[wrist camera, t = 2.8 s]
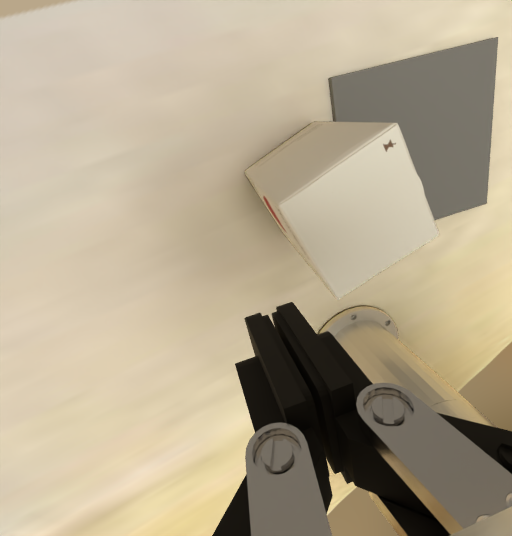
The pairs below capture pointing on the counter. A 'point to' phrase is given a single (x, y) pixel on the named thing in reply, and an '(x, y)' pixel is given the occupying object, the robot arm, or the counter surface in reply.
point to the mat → (432, 117)
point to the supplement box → (346, 199)
